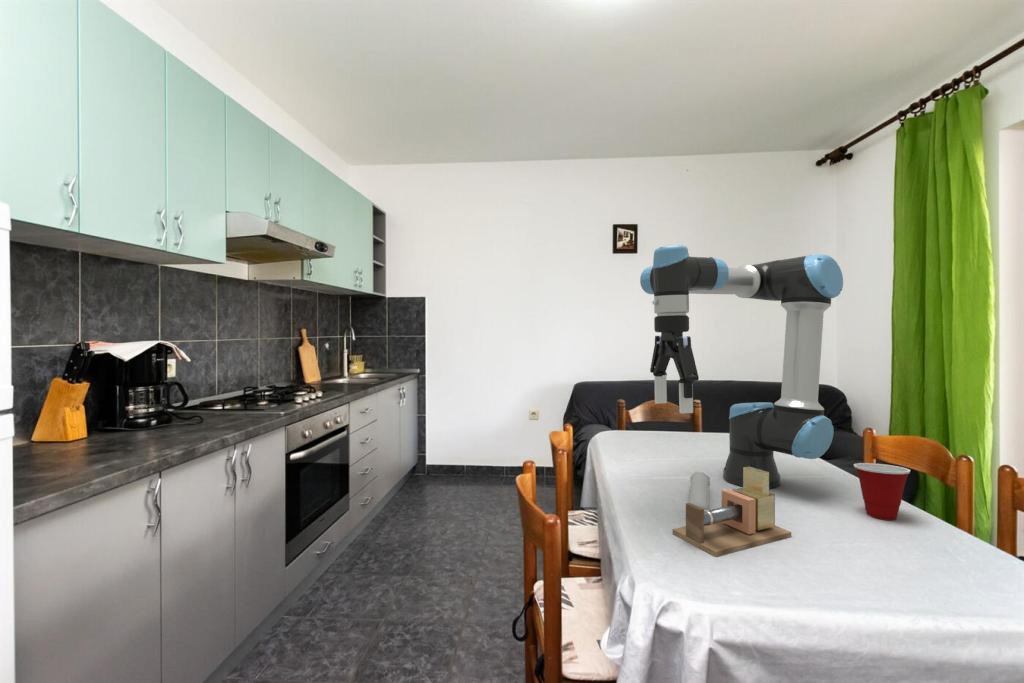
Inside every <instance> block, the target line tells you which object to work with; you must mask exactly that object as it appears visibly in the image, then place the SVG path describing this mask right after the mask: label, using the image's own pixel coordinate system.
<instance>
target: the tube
mask: <svg viewBox="0 0 1024 683" xmlns="http://www.w3.org/2000/svg"><path fill="white" fill-rule="evenodd" d="M689 479H690V480H689V482H690V485H689V493H688V502H687V503H691V504H693V505H695V506H698V507H700V508H702V509H704V510H710V509H709V508H710V506H709V504H710V501H709V500H710V499H709V498H710V495H709V494H710V485H711V483H710V480H711V478H710V476H708V475H707V474H706V473H704V472H701V471H694V472H693V473H692V474H691V476H690V478H689Z"/></svg>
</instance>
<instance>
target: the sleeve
mask: <svg viewBox="0 0 1024 683" xmlns="http://www.w3.org/2000/svg"><path fill="white" fill-rule="evenodd" d="M731 490H732V491H734V492H737V493H740V494H743V495H745V496H748V497H751V498H754V499H756V515H755V529H756V530H762V529H766V528H770V527H774V495H771V494H769V492H770V488H769V472H767V471H763V470H760V469H757V468H753V467H750V466H749V467H743V486H742V487H739V488H734V489H731ZM735 504H737V503H734V505H735ZM740 519H742V517H741V518H740Z"/></svg>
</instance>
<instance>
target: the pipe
mask: <svg viewBox="0 0 1024 683" xmlns="http://www.w3.org/2000/svg"><path fill="white" fill-rule="evenodd" d="M741 517H742V505H740V504H735V505H730V506H726V507H722V506H720V507H717V508H712V509H709V510H704V526H706V525H707V526H708V525H712V524H715V523H719V522H723V521H728V520H732V519H737V518H741Z"/></svg>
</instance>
